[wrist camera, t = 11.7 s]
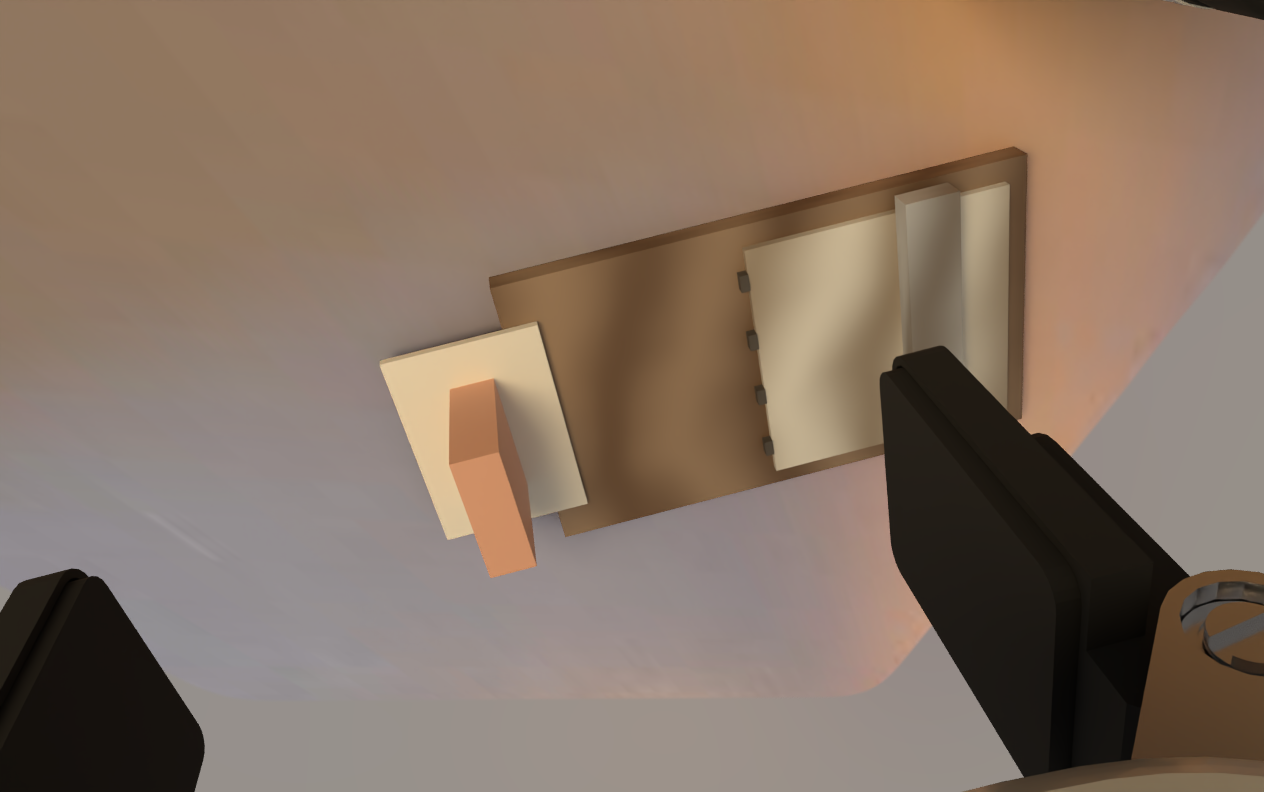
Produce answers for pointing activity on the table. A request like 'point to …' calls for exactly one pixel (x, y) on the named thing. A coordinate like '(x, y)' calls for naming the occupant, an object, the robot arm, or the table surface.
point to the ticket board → (773, 332)
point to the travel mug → (1229, 6)
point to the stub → (488, 439)
